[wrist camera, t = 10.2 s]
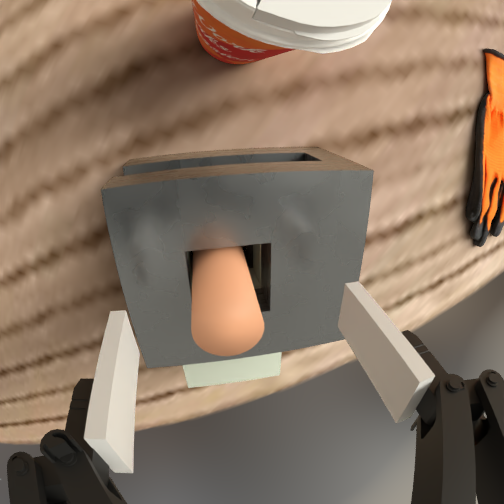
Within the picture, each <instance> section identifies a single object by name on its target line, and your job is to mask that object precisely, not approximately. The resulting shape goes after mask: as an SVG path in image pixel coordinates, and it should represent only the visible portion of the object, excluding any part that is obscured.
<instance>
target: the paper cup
mask: <svg viewBox="0 0 504 504" xmlns="http://www.w3.org/2000/svg"><path fill="white" fill-rule="evenodd" d="M391 1H392V0H192V6H193V13H194V19H195V25H196V31H197V35H198V38H199V41H200V43H201V45H202V46H203V48H204V49H205V50H206V51H207V52H208V53H209V54H210V55H211V56H212V57H214V58H216V59H218V60H220V61H222V62H225V63H230V64H246V63H251V62H255V61H259V60H262V59H265V58H268V57H271V56H275V55H278V54H281V53H285V52H288V51H291V50H295V49H298V50H305V51H310V52H316V53H320V54H325V53H331V52H338V51H342V50H345V49H348V48H352V47H354V46H356V45H358V44H360V43H362V42H364V41H366V40H367V38H368V37H369V36H370V35H371V33H372V32H373V31H374V30H375V28H376V27H377V26H378V25H379V24H380V23H381V22H382V21H383V19H384V17H385V15H386V14H387V12H388V10H389V7H390V4H391Z"/></svg>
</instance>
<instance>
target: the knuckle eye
mask: <svg viewBox="0 0 504 504" xmlns="http://www.w3.org/2000/svg"><path fill="white" fill-rule="evenodd" d="M187 255H188V263H189V270H190V278H191V285H192V272H191V264H190V256H189V251H187ZM248 269H249V273H250V276H251V280H252V283H253V286H254V289H258V288H261V244H253V268H248ZM182 366H183V370H184V373H185V377H186V381H187V385H188V388H191V387H201V386H210V385H218V384H226V383H234V382H241V381H247V380H254V379H260V378H266V377H272V376H277V375H280V366H281V352H278V353H272V354H266V355H259V356H253V357H246V358H239V359H232V360H224V361H216V362H208V363H199V364H189V365H182Z"/></svg>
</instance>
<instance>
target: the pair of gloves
mask: <svg viewBox="0 0 504 504" xmlns="http://www.w3.org/2000/svg"><path fill="white" fill-rule="evenodd" d="M484 53H485V56H486V67H487V81H488V89H489V92H490V93H487V94H486V95H485V97H484V98H483V100H482V101H481V104H480V107H479V111H478V116H477V125H476V155H475V170H474V177H473V182H472V186H471V190H470V194H469V199H468V202H467V207H466V217H467V219H468V220H470V221H472V222H474V224H473V227H472V229H471V231H470V236H471V238H473V239H474V244H475V245H476V246H479V247H481V246H483V245H484V243H485V242H486V239H487V236H488V234H489V231H490V233H491V234H492V235H493V236H496V237H497V236H498V235H499V234H500V232H501V230H502V227H503V225H504V55H503V54H502V53H500V52H498V51H496V50H494V49H484ZM498 206H500V207H499V210H498V213H497V216H496V218H495V220H494V222H493V224H492V227H491V221H492V219H493V217H494V216H495V213H496V211H497V208H498ZM490 227H491V230H490Z"/></svg>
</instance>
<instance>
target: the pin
mask: <svg viewBox="0 0 504 504" xmlns="http://www.w3.org/2000/svg"><path fill="white" fill-rule="evenodd" d="M191 332H192V337H193V339H194V341H195V343H196V344H197V345H198V346H199V347H200V348H201V349H203V350H204V351H206V352H208V353H211V354H214V355H218V356H233V355H238V354H241V353H244V352H246V351H248V350H250V349H251V348H252V347H254V346H255V345H256V344H257V343H258V342H259V340H260V339H261V337H262V335H263V332H264V321H263V317H262V314H261V310H260V307H259V304H258V300H257V297H256V293H255V290H254V286H253V283H252V280H251V276H250V273H249V269H248V266H247V262H246V259H245V255H244V252H243V249H242V246H233V247H224V248H214V249H205V250H195V251H193V270H192V310H191Z"/></svg>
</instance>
